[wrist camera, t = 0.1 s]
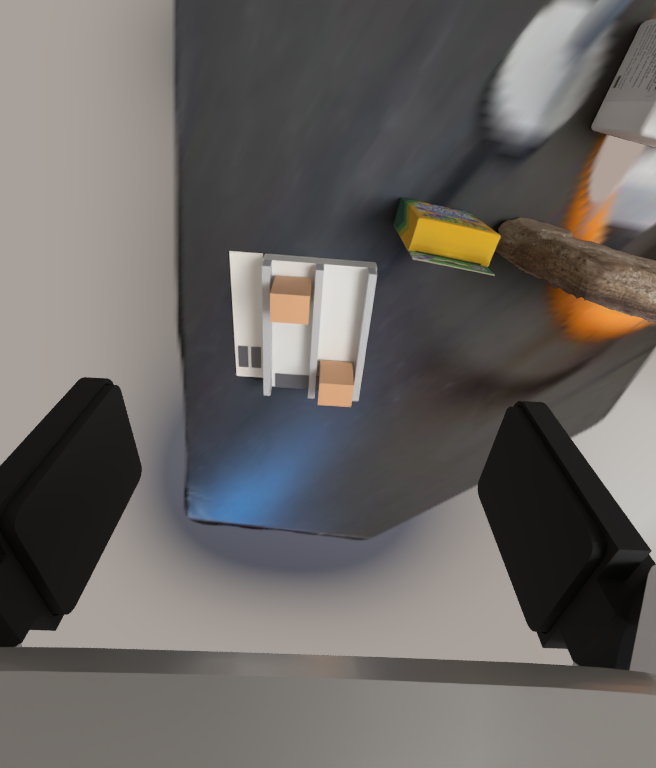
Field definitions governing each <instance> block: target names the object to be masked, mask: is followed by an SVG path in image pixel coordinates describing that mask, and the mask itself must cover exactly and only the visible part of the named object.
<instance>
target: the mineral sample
mask: <svg viewBox="0 0 656 768" xmlns="http://www.w3.org/2000/svg"><path fill="white" fill-rule="evenodd" d="M498 231H499V233H498V234H499V235H501V238H500V240H499V242H498V244H497V247H496V249H495V252H496V253H498V254H499V255H501V256H502V257H504V258H505V259H507V260H508V261H510V262H511V263H512V264H514V265H515V266H516V267H518V269H519V270H521V271H525V273H529V274H531V275H533V276H535V277H536V278H539V279H545V280H547V281H548V282H549V283H550V285H551V286H553V287H554V288H559V287H560V288H561V289H562V290H563V291H565V292H566V293H568V294H573V295H574V296H575V297H576V298H579V297H583V298H584V300H589V301H591V302H594V303H596V304H599V305H602V306H604V307H606V308H609V309H611V310H616V311H619V312H622V313H625V314H629V315H631V316H636V317H641V318H643V319H645V320H647V321H649V322H650V321H653V322H656V261H655V260H651V259H647V258H643V257H638V256H635V255H632V254H627V253H625V252H622V251H619V250H614V249H611V248H609V247H606V246H602V245H599V244H597V243H594V242H590V241H582V240H579V239H576V238H574V237H572V234H571V231H570V230H568V229H564V228H561V227H557V226H554V225H551V224H548V223H543V222H539V221H537V220H533V219H529V218H521V217H519V218H517V219H514V220H507V221H506V222H504V223H502V224H501V226H500V227H499V229H498Z"/></svg>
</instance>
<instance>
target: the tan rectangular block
mask: <svg viewBox="0 0 656 768" xmlns="http://www.w3.org/2000/svg"><path fill="white" fill-rule="evenodd" d="M311 282H312V278H302V277H289V276H275V279H274V282H273V285H272V289H271V292H270V322H280V323H294V324H307V325H308V321H309V312H310V299H311Z"/></svg>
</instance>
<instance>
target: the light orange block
mask: <svg viewBox="0 0 656 768" xmlns="http://www.w3.org/2000/svg"><path fill="white" fill-rule="evenodd" d="M353 389H354V379H353V367H352V362H341V361H326V360H320V373H319V390H318V405H327V406H343V407H351V404H352V396H353Z"/></svg>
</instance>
